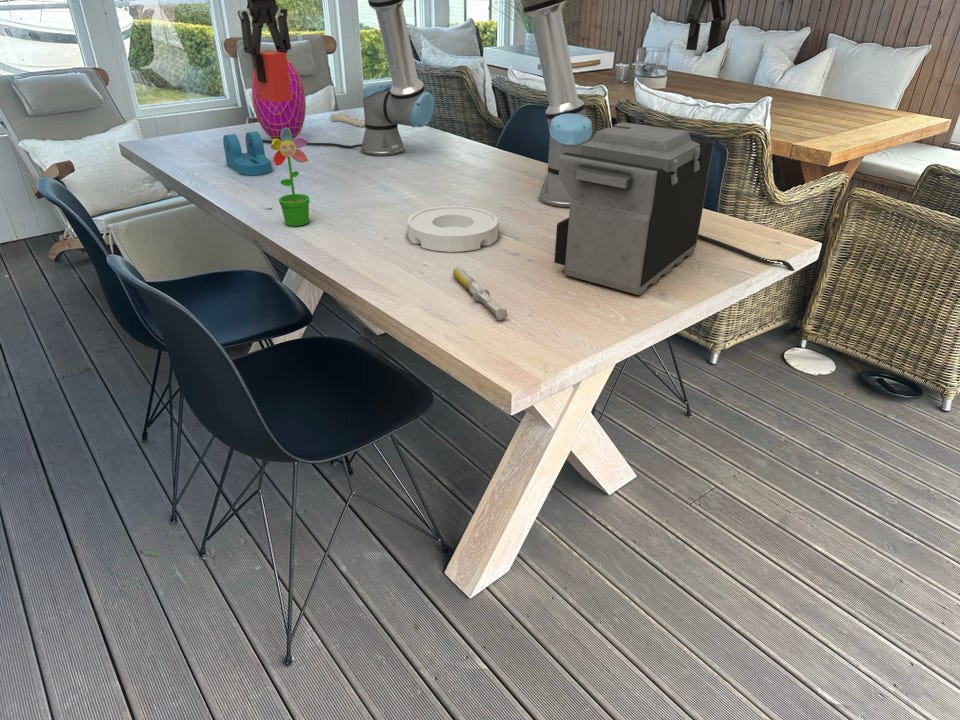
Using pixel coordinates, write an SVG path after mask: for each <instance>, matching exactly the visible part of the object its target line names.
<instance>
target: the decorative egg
mask: <svg viewBox="0 0 960 720" xmlns="http://www.w3.org/2000/svg"><path fill="white" fill-rule="evenodd" d="M287 65H288V73H289V81H290V90H291V98H292V100H286V101H280V102H271V101H267V100H262V99H258V97H257V90H256V83H255V76H254V71H253V73H252V77H251V101H252V107H253V110H254V114H255V116H256V118H257V121H258V123H259V125H260V127H261V128H262V130H263V131H264V133H266V135H267V136H268V137H270V138H271V139H272V140H273V139H279V140H281V136H280V134H281V131H282V130H283V129H284V128H288V129H289V130H290V131H291V134H292V139H293V138H295V137H298V136H299V134H301V131H302V129H303V127H304V123H305V118H306V104H307V103H306V102H307V101H306V99H307V97H306V93H305V88H304V84H303V81H302V77H301V75H300V73H299V71H298V69H297V67H296V66H295V65H294V63H293V62H292V61H291V60H290V59H288V58H287ZM281 141H282V140H281Z"/></svg>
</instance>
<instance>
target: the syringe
mask: <svg viewBox="0 0 960 720" xmlns="http://www.w3.org/2000/svg"><path fill="white" fill-rule="evenodd" d="M452 274H453V277H454V279H455V280H457V281H458V282H459V283H460V285H462V287H464V289H466V290H467V291H468V293H470V295H471V296H472V298H473V300H474V302H477V303H478V302H480V303H482V304H483V305H484V306H485V307H486V308H487V309H488V310H489V311H490V312H491V313H492V314H493V315H494V316H495V317H496V320H497V321H503V320H504V319H506V318H507V317H509V314H508V310H507V308H506V307H502V306H501V305H500V303H498V302H497V301H496V300H494V299H493V298H492V297H491V296H490V295H491V293H490V290H488V289H486V288H483V287H482V286H481V285H480V284H479V283H478V282H477V281H476V280H474V278H473V277H471V275H469V274H468V273H467V272H466V270H465V269H464V268H463V267H462V266H456V267H454V268H453V271H452Z"/></svg>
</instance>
